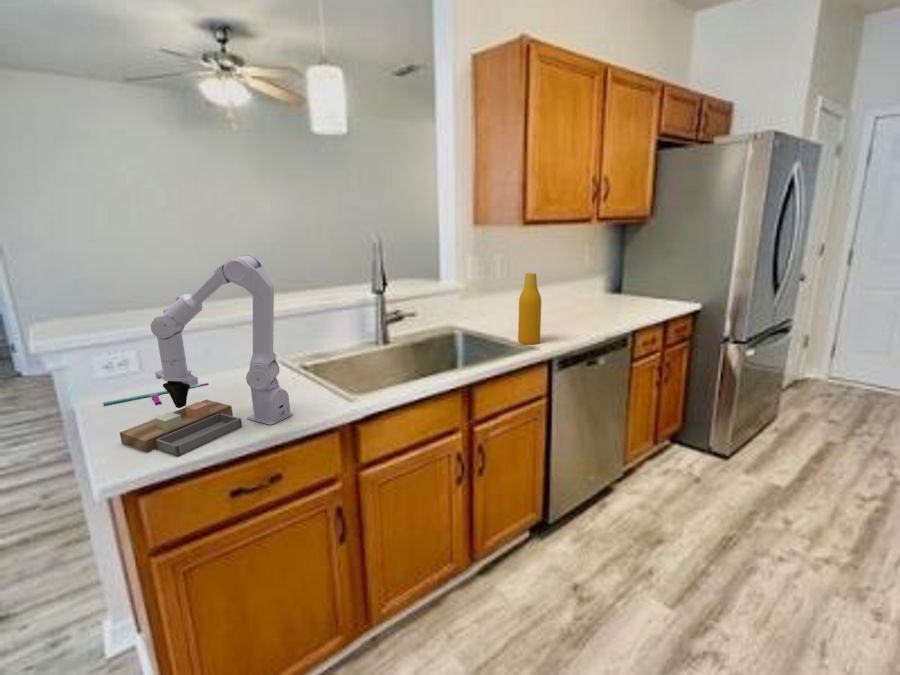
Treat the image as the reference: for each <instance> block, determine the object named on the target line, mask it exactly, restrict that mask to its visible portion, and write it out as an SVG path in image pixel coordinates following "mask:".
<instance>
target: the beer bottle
mask: <svg viewBox="0 0 900 675" xmlns="http://www.w3.org/2000/svg"><path fill="white" fill-rule="evenodd" d="M537 279H538V278H537V273H536V272H526V273H525V276H524V284H523V289H522V291H521V293H520V295H519V298H518V332H517V333H518V335H517V340H518V343H520V344H521V345H529V346H530V345H531V346H532V345H533V346H534V345H537V344H540V343H541V324H542V323H541V322H542V321H541V319H542V296H541V294H540V292H539V289H538V280H537Z"/></svg>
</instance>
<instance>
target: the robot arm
mask: <svg viewBox="0 0 900 675" xmlns="http://www.w3.org/2000/svg"><path fill="white" fill-rule="evenodd" d="M230 283H233V284H235V285H237V286H239V287H242V288H244V289H245V290H246V291H247V292H248V293H250V294H251V295H252V355H251V358H250V362H249V369H248V371H247V373H246V377H245V380H246V383H247V385H248V386H249V387H250V393H251V402H252V409H253V414H251V415H249V416H247V417H246V418H247V420H250V421H254V422H259V423H261V424H266V425H270V426H273V425H274V424H277V423H278V422H281V421H283V420H285V419H286V418H289V417H291V416H293V414H294V413H293V412H291V406H290V405H291V404H290V399H289V398H290V397H289V393H288V392H287V390H286V389H284V388H282V387H281V385H280V382H279V380H278V379H277V376H278V375H279V374H280V365H279V363H278V361H277V355H276V353H275V352H274V322H275V321H274V318H275V317H274V313H275V312H274V309H275V308H274V306H275V305H274V304H275V301H274V299H275V298H274V296H275V295H274V294H275V289H274V288H275V287H274V284H273V283H272V280H270V277H269V275H268V274H267V272H266V270H265V266H264V264H263V263H262V262H261V261H260V260H258V258H256V257H255V256H253V255H251V254H243V255H241V256H237V257H232V258H229V259H228V260H226V261H225V263H223V264H220V266H218V267H217V268H216V269H215V270H213V272H212V273H211V274H209V276H208V277H207V278H206V279H205V280H204V281H203V282H202V283H201V284H200V285H199V286H198V287H197V288H196V289H195V290H194V291H193V292H192V293H184V294H182V295H181V294H180V295H177V296H176V297H175V298H174V299H175V300H176V301H175V302H174V303H173V304H172V305H171V306H170V307H168V308H167V307H166V308H164V309H163V310H162V312H163V315H158V316H155V317H154V318H153V320H152V322H151V323H150V330H151V332H152V334H153V335H154V336H155V337H156V338H157V340H156V341H157V345H158V351H159V357H160V363H161V368H162V369H161V370H158V371H155V372H154V373H155V378H156V379H157V380H160V379H161V380H163V381H166V382H164V383H163V384H162V388H164V389H165V391H167V392H168V393H167V394H168V395H169V396H170V398H171V399H172V402H173V404H174V406H175V408H177V409H182V408H185V407H186V406H187V400H188V394H189V390H190V389H191V388H190V386H194V385H199V379H198V377H197V376H195V375H193V374H192V370H190V369H188V366H187V358H186V353H185V347H184V346H185V345H184V340H183V332H184V329H185V326H186V325H187V324H188V323H189V322H190V321H192V319H194V318H195V317H196V316H197V315H198V314H200V312H201V311H202V310H203V302H205V301H206V300H207V299H209V297H210V296H212V295H213V294H214V293H215V292H216V291H217V290H219V289H220V288H221V287H222V286H223V285H228V284H230Z"/></svg>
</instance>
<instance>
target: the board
mask: <svg viewBox="0 0 900 675" xmlns="http://www.w3.org/2000/svg"><path fill="white" fill-rule="evenodd" d="M200 402H202V403H206V404H209V410H210V413H209V414H206V415H204V416H201V417H199V418H193V417H189V416H187V415H186V409H185V407H182V408H179V409H178V410H176V411H172V412H171V413H175V414H178V415H181V420H182V425H179V426H177V427H174V428H172V429H169V430H164V429H161V428H158V427H157V424H156V418H154V419H151V420H149V421H147V422H144V423H143V422H142V423H141V424H139V425H136V426H133V427H131V428H128V429H125V430H123V431H120V432H119V436H120V442H121V444H122V445H124V446H127V447H130V448H133V449H136V450H138V451H142V452H143V453H147V454H148V453H150V452H153V451H154V450H157V449H156V444H155V440H156V439H158V438H161V437H163V436H165V435H168V434H170V433H173V432H175V431H177V430H180V429H182V428H185V427H187V426H189V425H192V424H194V423H197V422H199V421H201V420H204V419H206V418H209V417H211V416H213V415H216V414H218V413H222V414H226V415H230V416H233V415H234V414H233V408H232V405H230V404H227V403H222V402H219V401H218V402H217V401H214V400H209V399H205V400H201V401H200ZM152 450H153V451H152Z"/></svg>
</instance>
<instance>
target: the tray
mask: <svg viewBox="0 0 900 675" xmlns="http://www.w3.org/2000/svg"><path fill="white" fill-rule="evenodd" d="M242 427H243V423H242V418H241V417H238V416H230V415H226V414H222V413H218V414H216V415H213V416H211V417H209V418H206V419H204V420H201V421H199V422H197V423H194V424H192V425H189V426H187V427H185V428H182V429H180V430H177V431H175V432H173V433H170V434H168V435H165V436H163V437H161V438H158V439H156V440H155V444H156V449H155V450H157V451H159V452H163V453H166V454H168V455H172V456H175V457H177V458H179V457H180V456H183V455H185V454H186V453H189V452H191V451H194V450H196V449H198V448H200V447H202V446H205V445H206V444H208V443H212V442H213V441H215V440H217V439H219V438H221V437H224V436H227V435H228V434H230V433H233V432H235V431H236V430H238V429H241V428H242Z"/></svg>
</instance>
